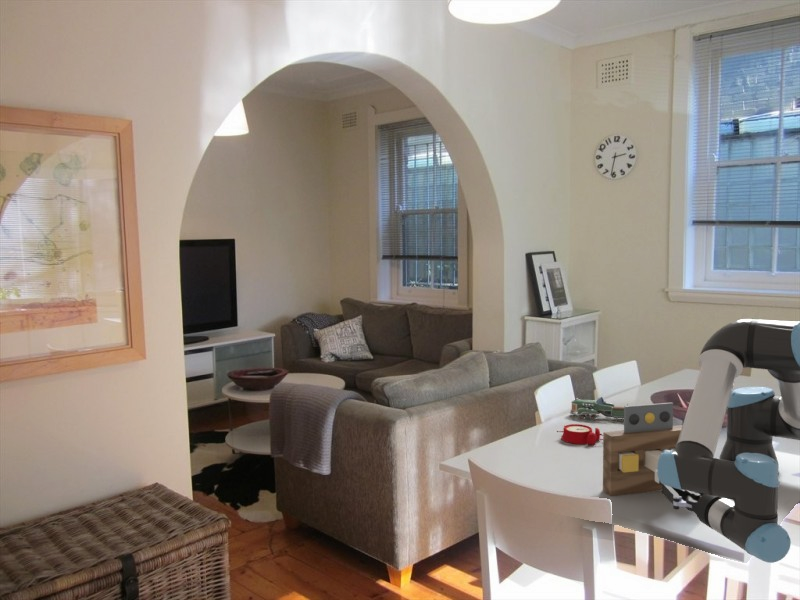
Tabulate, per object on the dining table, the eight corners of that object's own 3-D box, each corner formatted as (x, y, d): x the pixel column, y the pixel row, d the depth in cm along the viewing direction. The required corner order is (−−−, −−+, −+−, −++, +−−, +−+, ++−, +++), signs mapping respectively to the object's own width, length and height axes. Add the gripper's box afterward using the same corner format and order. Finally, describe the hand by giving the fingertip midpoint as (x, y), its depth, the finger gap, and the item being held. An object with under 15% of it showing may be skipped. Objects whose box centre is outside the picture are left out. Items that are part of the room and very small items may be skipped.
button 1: (638, 471, 172) (638, 455, 172) (623, 472, 171) (623, 456, 171) (619, 459, 181) (620, 444, 180) (605, 461, 180) (606, 446, 179)
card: (673, 429, 177) (673, 403, 176) (625, 433, 174) (626, 407, 173) (671, 428, 178) (671, 402, 177) (623, 432, 175) (624, 406, 174)
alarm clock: (564, 422, 229) (607, 419, 220) (568, 440, 228) (611, 437, 220) (553, 430, 220) (598, 426, 212) (557, 449, 220) (602, 446, 211)
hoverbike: (573, 412, 255) (573, 391, 254) (642, 419, 243) (642, 397, 243) (567, 418, 246) (567, 396, 246) (638, 426, 235) (638, 403, 234)
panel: (692, 487, 178) (693, 428, 177) (610, 496, 173) (611, 436, 172) (682, 481, 182) (683, 424, 181) (602, 490, 177) (603, 432, 176)
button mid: (675, 474, 169) (675, 458, 168) (660, 476, 168) (661, 460, 167) (655, 463, 178) (655, 447, 177) (640, 464, 177) (641, 449, 176)
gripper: (694, 534, 140) (633, 492, 163) (748, 527, 142) (680, 487, 165) (694, 500, 139) (633, 462, 162) (749, 494, 142) (681, 458, 165)
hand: (657, 475), depth 164 cm, fingers closed
